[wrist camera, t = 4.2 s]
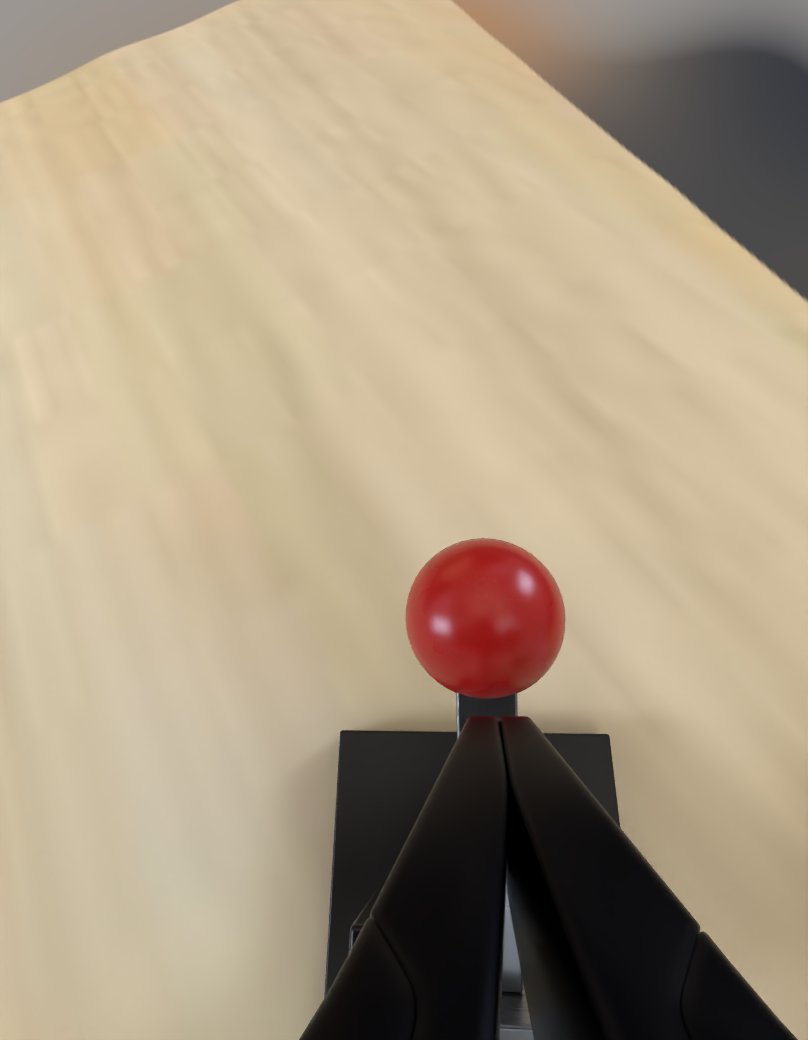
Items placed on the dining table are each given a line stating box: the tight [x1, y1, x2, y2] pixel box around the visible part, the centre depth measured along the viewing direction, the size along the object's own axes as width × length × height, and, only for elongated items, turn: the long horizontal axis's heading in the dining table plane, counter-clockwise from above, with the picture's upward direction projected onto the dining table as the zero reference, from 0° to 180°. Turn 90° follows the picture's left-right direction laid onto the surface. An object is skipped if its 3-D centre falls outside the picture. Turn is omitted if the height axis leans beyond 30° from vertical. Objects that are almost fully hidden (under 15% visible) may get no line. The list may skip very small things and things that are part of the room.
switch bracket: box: [324, 730, 620, 999], centre depth 14 cm, size 12×9×10 cm
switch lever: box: [406, 538, 565, 1040], centre depth 11 cm, size 11×3×3 cm, turn 0°
